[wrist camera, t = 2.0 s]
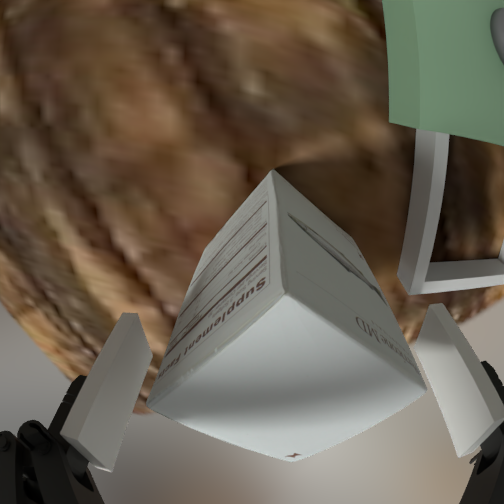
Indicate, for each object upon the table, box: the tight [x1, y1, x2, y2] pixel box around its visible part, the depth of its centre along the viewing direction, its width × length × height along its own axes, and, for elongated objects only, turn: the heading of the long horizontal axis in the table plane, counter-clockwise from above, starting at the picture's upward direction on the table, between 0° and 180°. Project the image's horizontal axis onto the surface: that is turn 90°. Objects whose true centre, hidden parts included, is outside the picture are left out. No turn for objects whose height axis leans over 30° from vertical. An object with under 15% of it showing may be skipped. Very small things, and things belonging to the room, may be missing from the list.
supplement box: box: [146, 170, 427, 462], centre depth 14 cm, size 7×7×13 cm
